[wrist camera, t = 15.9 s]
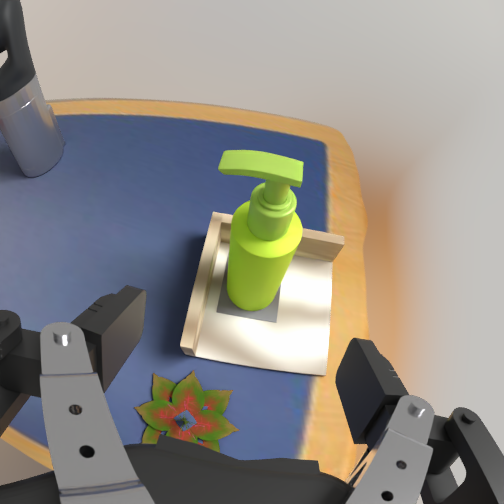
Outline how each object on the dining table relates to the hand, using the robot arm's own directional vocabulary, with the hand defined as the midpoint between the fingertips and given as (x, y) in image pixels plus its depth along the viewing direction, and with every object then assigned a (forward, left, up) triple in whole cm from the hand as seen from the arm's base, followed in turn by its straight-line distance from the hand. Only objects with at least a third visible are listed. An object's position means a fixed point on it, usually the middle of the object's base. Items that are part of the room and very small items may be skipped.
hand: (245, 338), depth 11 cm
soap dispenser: (-12, 0, -23) cm, 25 cm away
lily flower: (+5, -4, -24) cm, 24 cm away
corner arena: (-10, +3, -23) cm, 25 cm away
